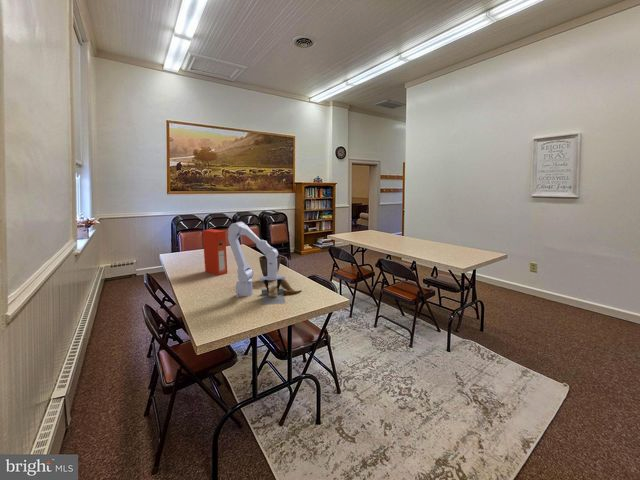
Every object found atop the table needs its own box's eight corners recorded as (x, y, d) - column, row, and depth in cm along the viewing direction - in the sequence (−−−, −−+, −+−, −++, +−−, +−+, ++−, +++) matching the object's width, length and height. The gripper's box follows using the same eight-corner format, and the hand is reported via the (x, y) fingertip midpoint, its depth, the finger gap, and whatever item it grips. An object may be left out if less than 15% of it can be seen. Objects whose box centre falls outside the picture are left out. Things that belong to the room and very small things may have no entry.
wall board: (261, 306, 167) (261, 299, 166) (261, 295, 184) (261, 288, 184) (285, 305, 169) (285, 298, 169) (283, 293, 187) (283, 287, 186)
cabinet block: (268, 297, 177) (268, 288, 176) (268, 293, 183) (268, 285, 182) (277, 296, 178) (277, 288, 177) (277, 292, 184) (276, 284, 183)
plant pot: (283, 276, 222) (282, 255, 219) (278, 283, 208) (277, 260, 205) (263, 276, 224) (262, 254, 221) (256, 282, 209) (256, 259, 206)
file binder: (217, 275, 224) (215, 232, 219) (204, 271, 235) (202, 230, 229) (227, 273, 230) (225, 231, 225) (214, 269, 241) (212, 229, 235)
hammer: (275, 281, 210) (283, 295, 181) (276, 277, 209) (284, 290, 181) (292, 282, 213) (302, 296, 185) (292, 278, 213) (303, 291, 185)
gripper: (259, 272, 173) (260, 295, 175) (285, 271, 176) (285, 293, 178) (259, 268, 180) (260, 291, 182) (284, 267, 183) (284, 289, 185)
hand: (272, 292), depth 181 cm, fingers closed on cabinet block, 5 cm apart
